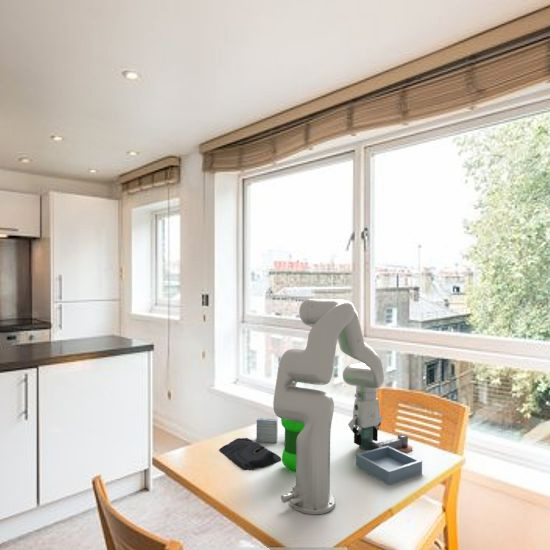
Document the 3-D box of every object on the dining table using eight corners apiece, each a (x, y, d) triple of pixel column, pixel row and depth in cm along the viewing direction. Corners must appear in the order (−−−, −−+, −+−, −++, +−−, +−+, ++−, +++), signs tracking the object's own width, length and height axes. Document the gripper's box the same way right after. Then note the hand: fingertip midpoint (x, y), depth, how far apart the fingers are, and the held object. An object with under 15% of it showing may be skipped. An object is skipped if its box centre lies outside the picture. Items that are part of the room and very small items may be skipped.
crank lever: (400, 443, 161) (400, 433, 161) (411, 447, 157) (411, 437, 157) (369, 451, 153) (369, 441, 153) (379, 456, 149) (379, 445, 149)
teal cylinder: (365, 450, 156) (365, 428, 156) (356, 446, 160) (356, 424, 160) (375, 448, 159) (375, 426, 159) (366, 443, 163) (366, 422, 163)
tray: (389, 484, 130) (389, 471, 130) (355, 466, 143) (355, 454, 143) (422, 473, 138) (422, 461, 138) (387, 456, 151) (387, 445, 151)
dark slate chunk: (251, 442, 164) (251, 430, 164) (284, 463, 146) (284, 449, 146) (215, 451, 156) (215, 438, 156) (246, 474, 137) (246, 459, 137)
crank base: (403, 453, 153) (403, 452, 153) (388, 447, 159) (388, 445, 159) (416, 449, 157) (416, 448, 157) (401, 443, 163) (401, 441, 163)
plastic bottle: (292, 478, 133) (292, 399, 134) (275, 466, 142) (275, 391, 143) (317, 471, 139) (318, 395, 139) (299, 459, 148) (300, 387, 148)
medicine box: (277, 439, 167) (277, 416, 167) (276, 443, 162) (276, 420, 162) (257, 438, 167) (258, 416, 167) (256, 442, 163) (256, 419, 163)
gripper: (355, 401, 152) (355, 450, 152) (390, 394, 161) (389, 441, 161) (341, 395, 158) (341, 443, 158) (375, 389, 167) (375, 434, 167)
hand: (365, 441), depth 159 cm, fingers open, 7 cm apart
